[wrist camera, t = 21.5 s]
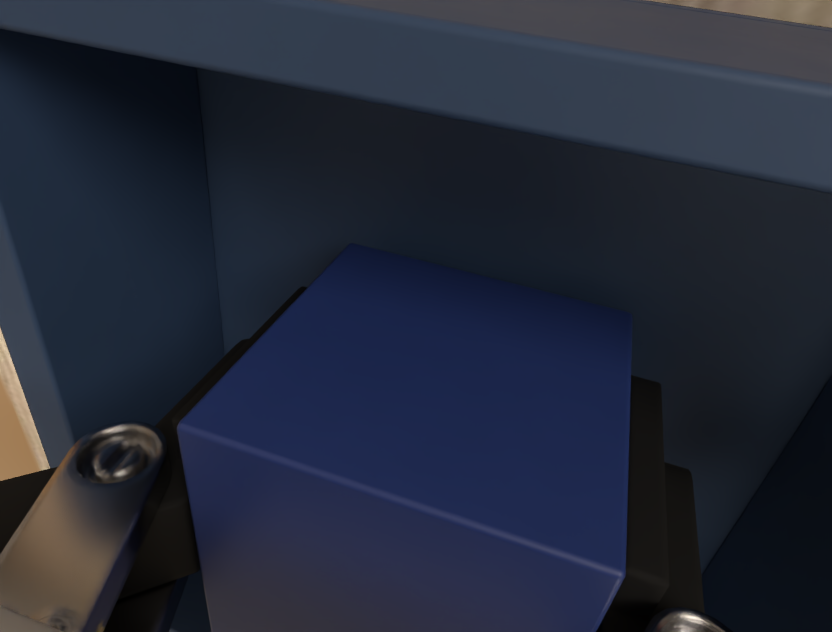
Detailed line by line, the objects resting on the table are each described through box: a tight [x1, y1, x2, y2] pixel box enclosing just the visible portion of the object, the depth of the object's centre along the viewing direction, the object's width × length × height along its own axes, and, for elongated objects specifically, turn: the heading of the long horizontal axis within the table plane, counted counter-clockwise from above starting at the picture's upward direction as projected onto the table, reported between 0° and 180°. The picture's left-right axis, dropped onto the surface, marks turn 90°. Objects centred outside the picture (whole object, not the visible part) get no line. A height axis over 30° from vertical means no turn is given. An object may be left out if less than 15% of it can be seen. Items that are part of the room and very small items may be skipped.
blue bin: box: [0, 0, 832, 632], centre depth 11 cm, size 14×14×5 cm
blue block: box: [177, 243, 633, 632], centre depth 10 cm, size 5×5×5 cm
